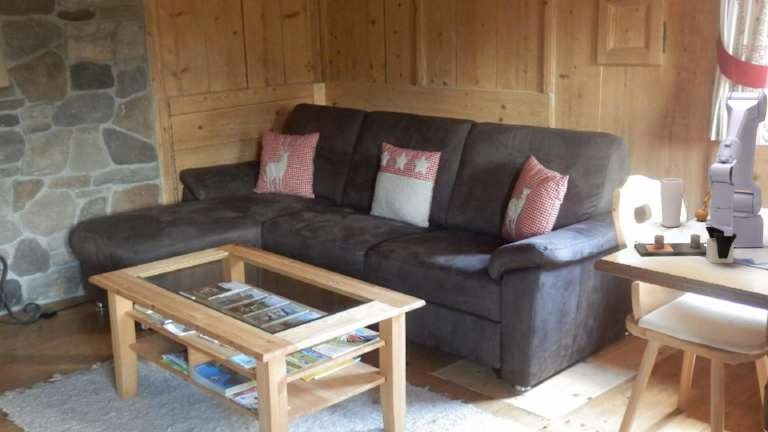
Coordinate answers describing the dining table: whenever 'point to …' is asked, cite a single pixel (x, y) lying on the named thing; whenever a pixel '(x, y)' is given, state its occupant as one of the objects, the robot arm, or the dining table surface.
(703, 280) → the dining table surface
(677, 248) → the pin board
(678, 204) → the white tall cup
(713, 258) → the sleeve
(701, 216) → the tan bulb-shaped piece
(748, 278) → the dining table surface
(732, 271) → the dining table surface
